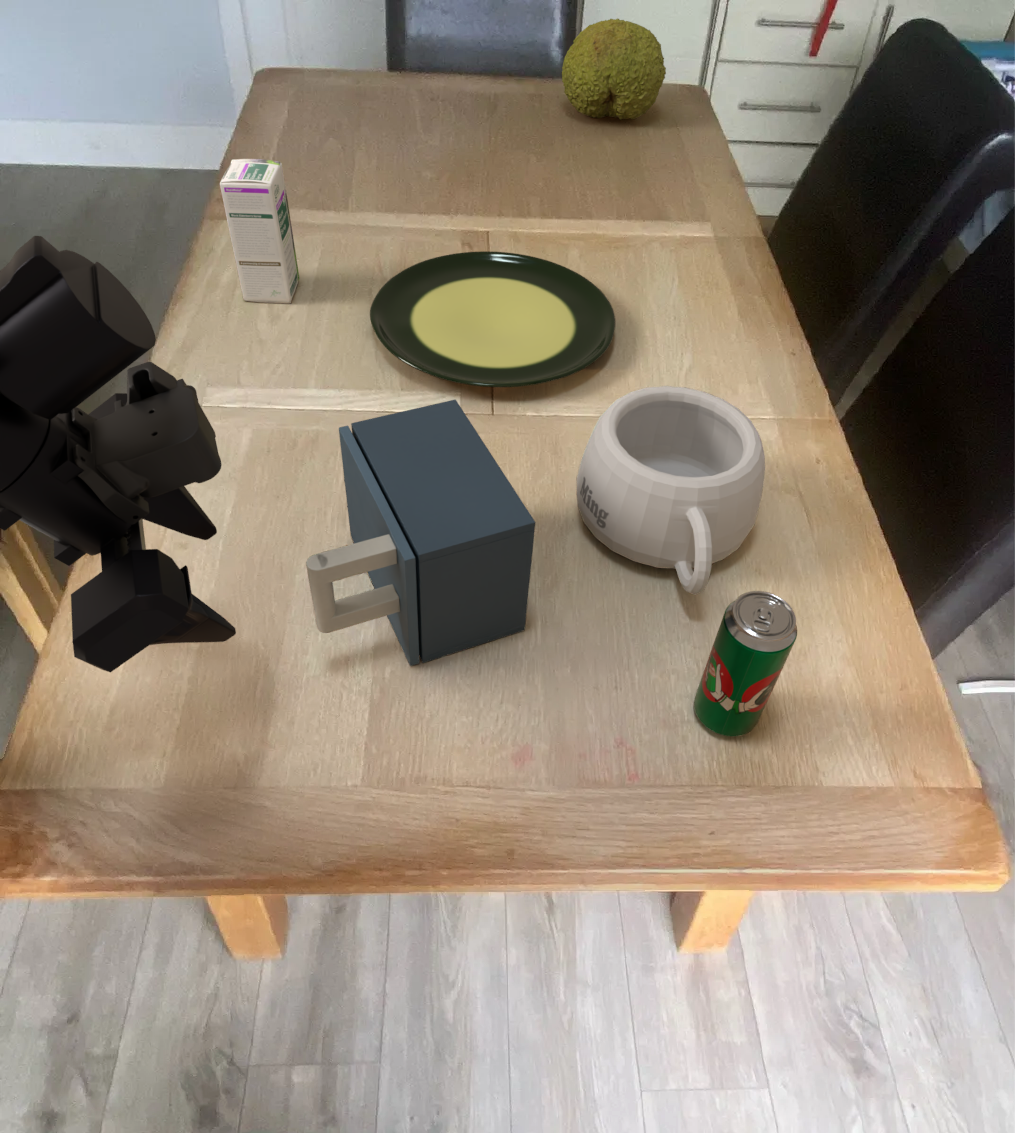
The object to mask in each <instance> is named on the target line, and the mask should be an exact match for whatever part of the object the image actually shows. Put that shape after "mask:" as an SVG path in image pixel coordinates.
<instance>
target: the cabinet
mask: <svg viewBox="0 0 1015 1133" xmlns="http://www.w3.org/2000/svg"><path fill="white" fill-rule="evenodd" d="M350 425H351V426H350V427H351V432H352V434H353V436H354V438H355V440H356V442H357V444H358V446H359V448H360V450H361V452H362V454H363V456H364V458H365V460H366V462H367V464H368V466H369V468H370V470H371V472H372V473H373V475H374V477H375V479H376V481H377V483H378V485H379V487H380V489H381V491H382V493H383V495H384V497H385V499H386V501H387V503H388V505H389V507H390V509H391V511H392V513H393V515H394V517H395V519H396V521H397V523H398V525H399V526H400V528H401V530H402V532H403V534H404V536H405V538H406V540H407V542H408V544H409V546H410V548H411V550H412V552H413V554H414V556H415V562H416V588H417V614H418V640H419V660H421V662H422V664H425V663H427V662H428V663H429V662H431V661H434V660H437V659H440V658H444V657H446V656H450V655H453V654H456V653H458V652H463V651H465V650H468V649H472V648H474V647H477V646H480V645H481V646H482V645H485V644H487V643H490V642H493V641H496V640H499V639H502V638H506V637H508V636H513V635H515V634H518V633H522V632H524V631H525V630H526V621H527V612H528V601H529V594H530V583H531V574H532V573H531V571H532V561H533V553H534V552H533V551H534V541H535V531H536V521H535V519H534V518H533V516H532V514H531V513H530V511H529V510H528V508H527V507H526V505H525V504H524V502H523V500H522V499H521V498H520V496H519V495H518V493H517V492H516V490H515V488H514V486H513V485H512V483H511V482H510V481H509V479H508V478H507V476H506V474H505V473H504V472H503V469H502V468H501V467H500V465H499V463H498V462H497V461H496V458H494V456H493V455H492V453H491V452H490V450H489V448H488V446H487V445H486V444H485V442H484V441H483V439H482V438H481V436H480V434H479V433H478V432H477V430H476V428H475V427H474V425H473V424H472V422H471V421H470V419H469V417H468V416H467V414H466V413H465V411H464V410H463V409H462V407H461V405H460V404H459V402H458V401H457V399H451V400H447V401H446V400H445V401H442V402H438V403H433V404H429V405H425V406H420V407H416V408H412V409H411V408H410V409H408V410H403V411H398V412H395V413H394V412H393V413H390V414H385V415H381V416H376V417H371V418H368V419H364V420H363V419H362V420H359V421H354V422H351V423H350Z"/></svg>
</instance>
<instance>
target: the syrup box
mask: <svg viewBox="0 0 1015 1133" xmlns="http://www.w3.org/2000/svg"><path fill="white" fill-rule="evenodd" d="M284 174H285V173H284V167H283V163H282V162H281V161H278V160H271V159H263V158H262V159H261V158H238V159H233V158H232V159H231V161H230V163H229V166H228V167H227V168H226V170H225V172H224V174H223V176H222V177H221V180H220V182H219V187H220V191H221V197H222V201H223V202H222V203H223V206H224V212H225V216H226V217H225V218H226V221H227V228H228V232H229V236H230V241H231V246H232V247H231V248H232V251H233V256H234V261H235V265H236V270H237V276H238V281H239V284H240V290H241V294H242V299H243V301H245V302H252V303H266V304H291V303H292V300H293V298H294V295H295V292H296V290H297V286H298V284H299V280H300V273H299V266H298V260H297V253H296V252H297V251H296V247H295V246H296V245H295V241H294V233H293V232H294V231H293V226H292V220H291V213H290V208H289V201H288V194H287V187H286V182H285V181H286V180H285V175H284Z"/></svg>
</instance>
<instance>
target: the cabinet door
mask: <svg viewBox="0 0 1015 1133" xmlns="http://www.w3.org/2000/svg"><path fill="white" fill-rule="evenodd" d="M338 435H339V436H338V437H339V443H340V444H339V445H340V453H341V461H342V462H341V463H342V470H343V471H342V472H343V480H344V489H345V497H346V507H347V515H348V524H349V534H350V537H351V540H352V542H353V543H352V544H348V545H344V546H340V547H337V548H333V549H329V550H325V551H321V552H318V553H315V554H312V555H310V556H309V557H308V558H306V561H305V566H306V574H307V578H308V584H309V585H308V586H309V589H310V596H311V602H312V607H313V612H314V619H315V625H316V629H317V630H318V631H319V632H321V633H323V634H329V633H333V632H337V631H340V630H344V629H346V628H350V627H353V626H356V625H360V624H363V623H367V622H370V621H373V620H376V619H380V618H383V617H387V619H388V621H389V623H390V625H391V628H392V630H393V632H394V634H395V636H396V638H397V641H398V643H399V645H400V647H401V650H402V652H403V654H404V656H405V659H406V660H407V662H408V665H409V666H410V667H412V666H415V665H418V664H420V656H419V640H418V614H417V588H416V562H415V556H414V554H413V552H412V550H411V548H410V546H409V544H408V542H407V540H406V538H405V536H404V534H403V532H402V530H401V528H400V526H399V525H398V523H397V521H396V519H395V517H394V515H393V513H392V511H391V509H390V507H389V505H388V503H387V501H386V499H385V497H384V495H383V493H382V491H381V489H380V487H379V485H378V483H377V481H376V479H375V477H374V475H373V473H372V472H371V470H370V468H369V466H368V464H367V462H366V460H365V458H364V456H363V454H362V452H361V450H360V448H359V446H358V444H357V442H356V440H355V438H354V436H353V434H352V429H350V427H349V425H344V426H340V427H339V426H338ZM365 573H367V575H368V577H369V579H370V581H371V584H372V586H373V589H371V590H367V591H363V592H360V593H356V594H353V595H349V596H347V597H343V598H340V599H336V598H335V592H334V591H335V590H334V584H333V582H337V581H340V580H344V579H347V578H352V577H354V576H358V575H361V574H365Z"/></svg>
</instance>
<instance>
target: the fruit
mask: <svg viewBox="0 0 1015 1133" xmlns="http://www.w3.org/2000/svg"><path fill="white" fill-rule="evenodd" d="M664 60H665V57H664V55H663V51H662V44H661V43H660V42H659V41H658V39H657V36H655V34H654V33H653V32H652V31H651V30H650V29H647V27H645V26H643V25H641V24H638V23H634V22H633V21H629V20H625V19H620V18H618V17H617V18H615V19H614V18H610V19H605V20H600V21H597V22H595V23H593V24H589V25H588V26H587V27H585V28H584V29H583V30H581V31H580V32H579V34H578V35H577V36H575V38H574V39H573V41H572V44H571V45H570V46H569V48H568V50H567V51H566V54H565V56H564V58H563V62H562V67H561V69H562V71H561V81H562V83H563V87H564V91H563V93H564V94H565V96H566V97H567V100H568V101H569V103H570V104H571V106H572V107H573V108H575V110H576V111H577V112H578V113H580V114H581V115H585V116H588V117H590V118H594V119H595V118H596V119H602V118H605V117H613V118H618V119H619V121H620V120H628V119H629V120H630V119H631V120H636V119H637V118H639V117H641V116H643V115H646V114H647V111H648V110H650V109H651V107H652V106H653V105H654V104H655V103H656V101H657V98H658V96H659V93H660V90H661V88H662V87H663V84H664V80H665V79H666V74H667V72H666V70H667V67H665V64H664V63H665V61H664Z"/></svg>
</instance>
